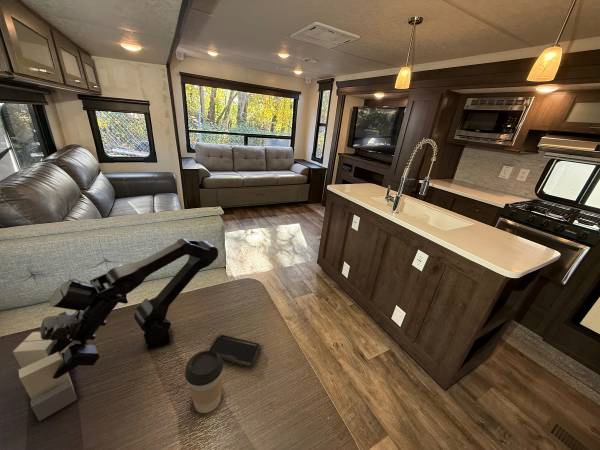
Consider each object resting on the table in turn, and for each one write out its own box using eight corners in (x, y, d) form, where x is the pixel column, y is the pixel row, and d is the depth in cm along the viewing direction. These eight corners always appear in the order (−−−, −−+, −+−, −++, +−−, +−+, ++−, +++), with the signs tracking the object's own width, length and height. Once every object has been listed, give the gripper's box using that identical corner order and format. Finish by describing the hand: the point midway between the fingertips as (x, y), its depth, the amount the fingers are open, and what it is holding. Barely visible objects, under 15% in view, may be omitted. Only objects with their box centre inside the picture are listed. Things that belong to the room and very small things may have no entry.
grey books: (69, 374, 69) (63, 360, 67) (77, 399, 64) (71, 385, 62) (33, 392, 64) (26, 378, 62) (39, 421, 59) (31, 407, 57)
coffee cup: (204, 426, 61) (200, 386, 55) (181, 403, 65) (175, 364, 59) (232, 395, 68) (230, 357, 62) (209, 376, 72) (206, 339, 66)
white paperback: (71, 382, 67) (58, 351, 63) (74, 390, 66) (61, 358, 61) (35, 401, 62) (18, 369, 58) (37, 410, 61) (19, 378, 56)
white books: (74, 360, 73) (62, 330, 68) (59, 380, 68) (45, 349, 63) (46, 362, 72) (32, 332, 67) (28, 383, 66) (12, 351, 61)
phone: (219, 334, 85) (260, 344, 83) (219, 336, 85) (260, 346, 83) (207, 353, 78) (252, 365, 75) (207, 356, 78) (252, 367, 76)
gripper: (54, 287, 64) (8, 341, 61) (66, 329, 53) (11, 398, 50) (99, 297, 73) (61, 345, 70) (118, 335, 62) (73, 394, 59)
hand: (52, 367), depth 62 cm, fingers open, 7 cm apart
